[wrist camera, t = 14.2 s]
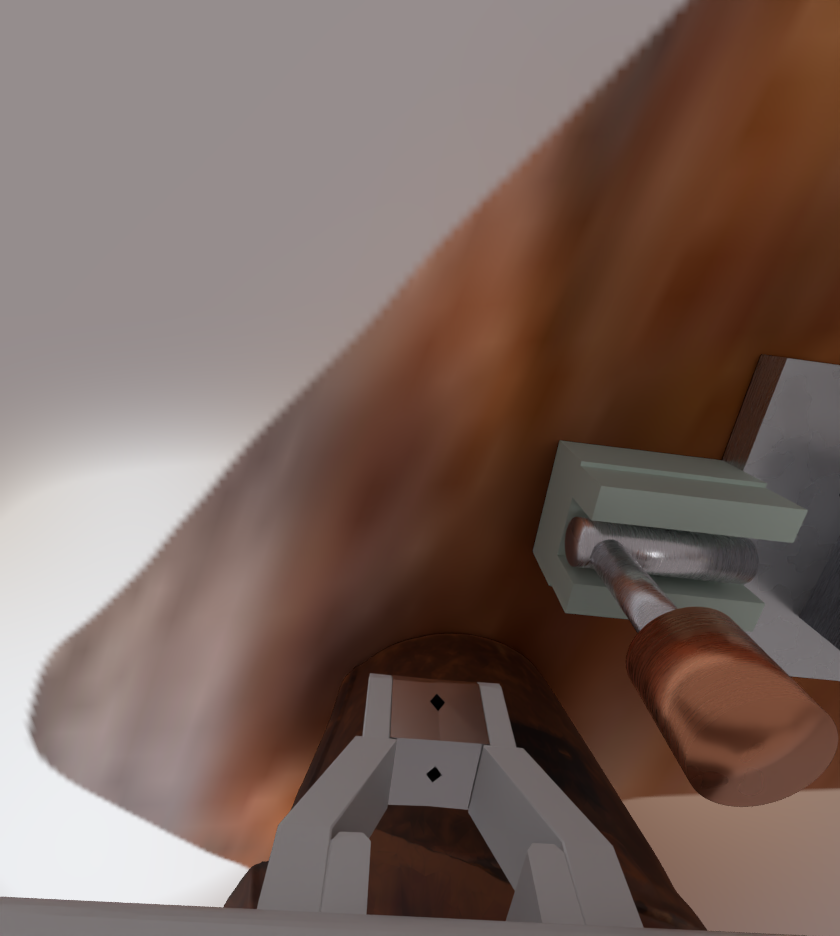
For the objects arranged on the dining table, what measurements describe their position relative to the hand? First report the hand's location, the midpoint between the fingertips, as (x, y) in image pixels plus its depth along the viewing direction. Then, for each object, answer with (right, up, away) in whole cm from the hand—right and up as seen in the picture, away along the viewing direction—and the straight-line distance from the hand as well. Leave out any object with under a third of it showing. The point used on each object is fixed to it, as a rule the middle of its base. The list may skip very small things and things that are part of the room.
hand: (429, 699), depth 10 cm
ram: (+9, +2, +9) cm, 13 cm away
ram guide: (+10, +3, +12) cm, 16 cm away
